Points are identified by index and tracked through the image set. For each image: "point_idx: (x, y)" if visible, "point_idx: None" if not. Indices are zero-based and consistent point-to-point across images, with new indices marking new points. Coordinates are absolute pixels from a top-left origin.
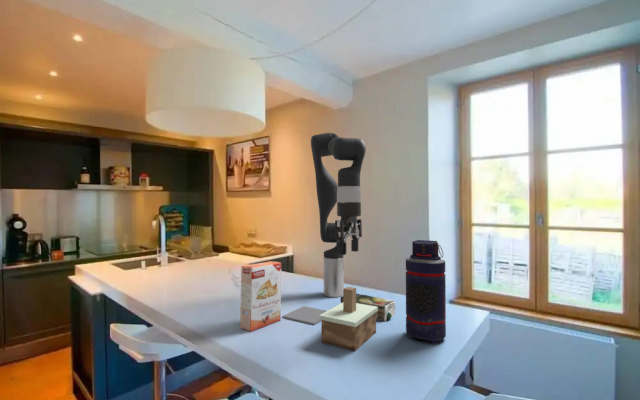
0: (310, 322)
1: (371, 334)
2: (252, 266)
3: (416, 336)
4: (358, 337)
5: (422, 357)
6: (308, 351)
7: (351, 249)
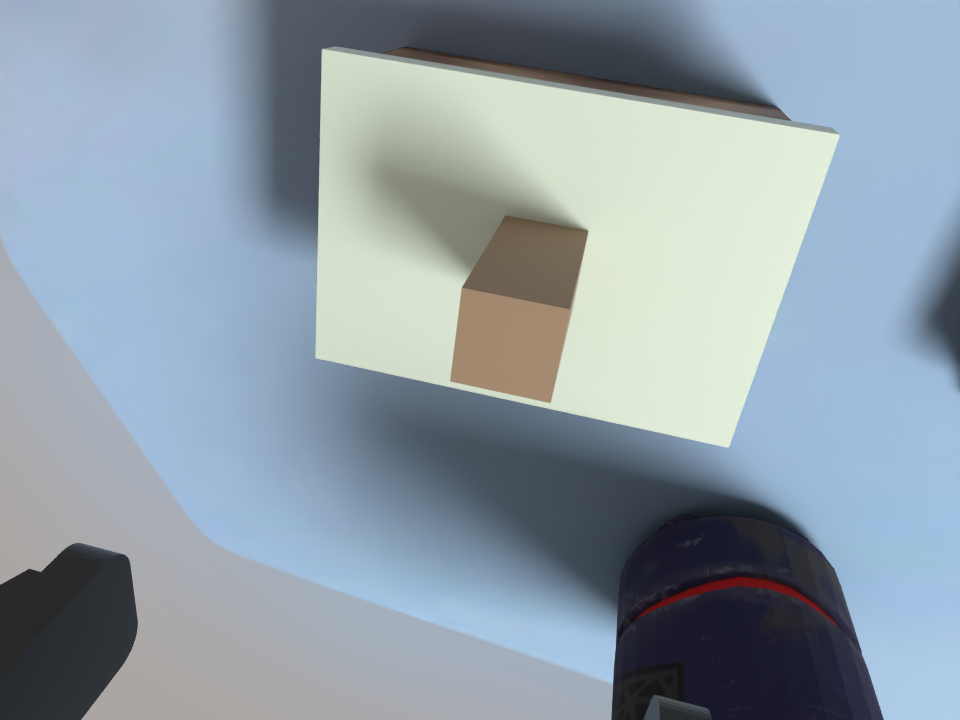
0: None
1: None
2: None
3: (629, 564)
4: None
5: (468, 556)
6: (257, 20)
7: (655, 717)
